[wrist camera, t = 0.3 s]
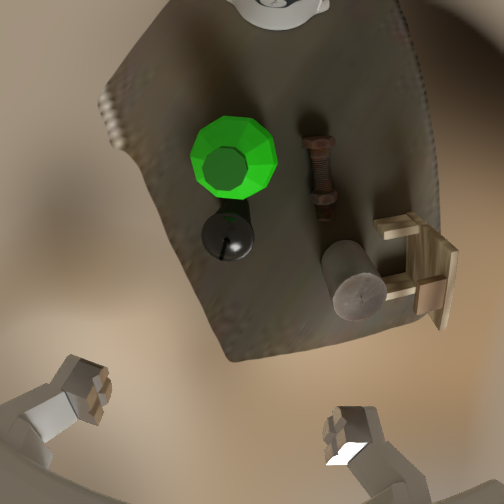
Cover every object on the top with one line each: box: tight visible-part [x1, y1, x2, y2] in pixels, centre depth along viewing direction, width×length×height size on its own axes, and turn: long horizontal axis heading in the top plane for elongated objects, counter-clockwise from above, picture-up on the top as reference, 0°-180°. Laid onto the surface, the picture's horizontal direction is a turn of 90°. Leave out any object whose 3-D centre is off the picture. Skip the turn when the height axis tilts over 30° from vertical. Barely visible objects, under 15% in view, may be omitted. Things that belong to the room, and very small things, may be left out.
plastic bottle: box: [190, 116, 278, 200], centre depth 38 cm, size 10×10×25 cm
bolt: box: [301, 136, 338, 221], centre depth 49 cm, size 6×5×15 cm
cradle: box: [374, 211, 459, 331], centre depth 49 cm, size 9×16×18 cm, turn 13°
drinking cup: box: [201, 198, 254, 261], centre depth 46 cm, size 8×8×20 cm
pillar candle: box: [321, 240, 387, 321], centre depth 52 cm, size 10×10×15 cm
